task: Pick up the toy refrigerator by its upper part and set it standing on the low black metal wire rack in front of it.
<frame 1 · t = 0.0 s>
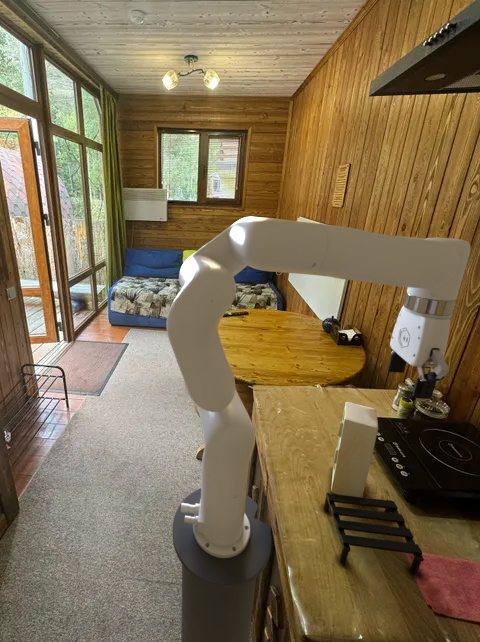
hand: (407, 383, 63), 31 cm above the kitchen counter, tool pointing down, fingers open, 9 cm apart
rack: (365, 538, 64), on the kitchen counter
toy refrigerator: (344, 485, 76), on the kitchen counter
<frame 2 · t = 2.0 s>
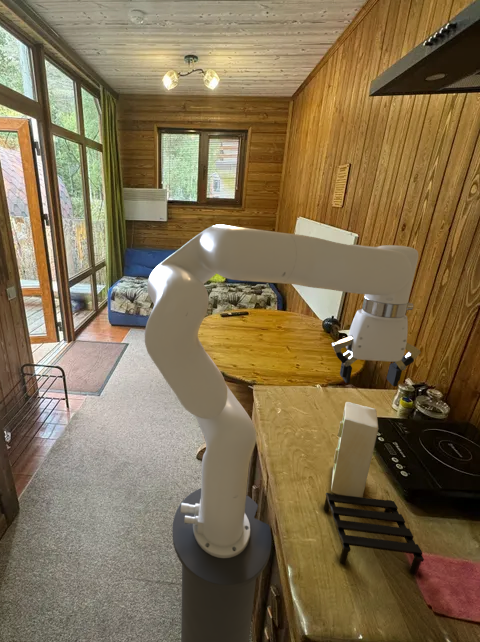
hand: (368, 381, 67), 29 cm above the kitchen counter, tool pointing down, fingers open, 9 cm apart
nothing on the kitchen counter moved.
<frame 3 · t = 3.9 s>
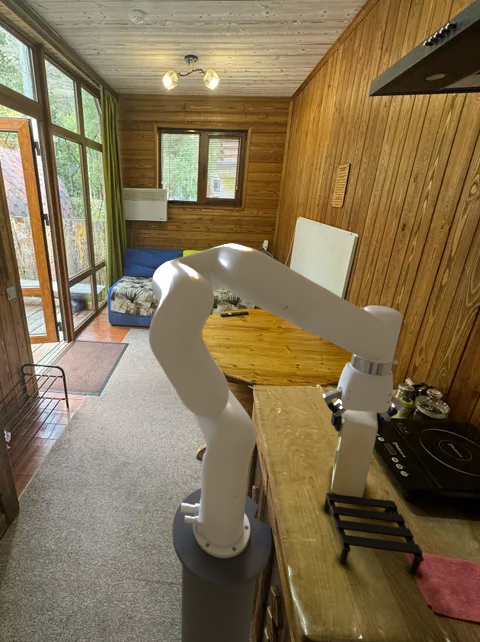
hand: (356, 429, 71), 17 cm above the kitchen counter, tool pointing down, fingers closed on toy refrigerator, 8 cm apart
toy refrigerator: (344, 485, 76), on the kitchen counter, touching gripper
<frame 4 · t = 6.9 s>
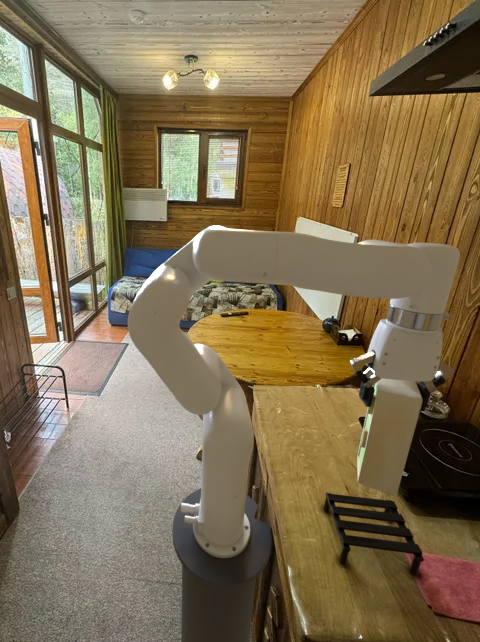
hand: (390, 404, 57), 31 cm above the kitchen counter, tool pointing down, fingers closed on toy refrigerator, 8 cm apart
toy refrigerator: (372, 475, 62), point 14 cm above the kitchen counter, touching gripper
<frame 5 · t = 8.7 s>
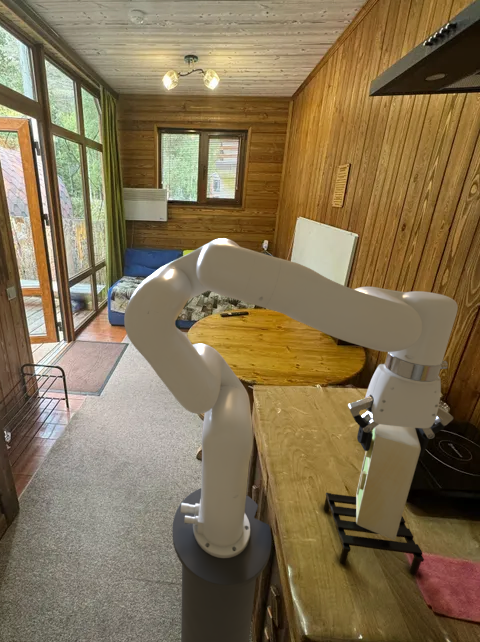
hand: (389, 447, 57), 23 cm above the kitchen counter, tool pointing down, fingers closed on toy refrigerator, 8 cm apart
toy refrigerator: (371, 515, 62), point 6 cm above the kitchen counter, touching gripper
when the fingers open (22 cm above the kitchen counter, at t = 9.9 s): toy refrigerator stays where it is, resting on rack.
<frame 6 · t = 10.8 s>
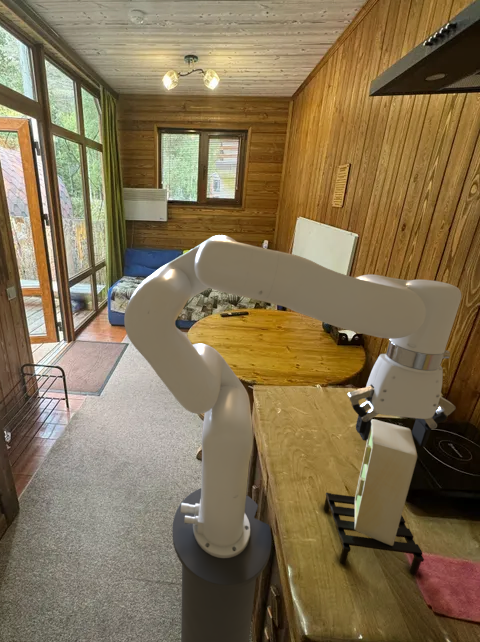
hand: (389, 438, 56), 25 cm above the kitchen counter, tool pointing down, fingers open, 9 cm apart
toy refrigerator: (369, 521, 63), point 5 cm above the kitchen counter, touching rack
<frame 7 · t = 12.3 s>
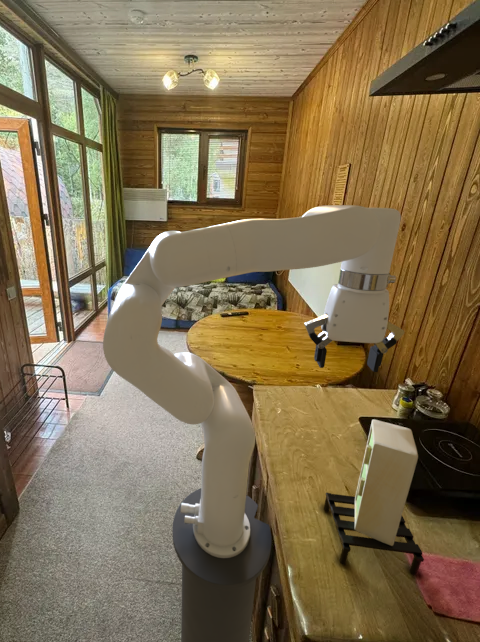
hand: (345, 366, 60), 36 cm above the kitchen counter, tool pointing down, fingers open, 9 cm apart
nothing on the kitchen counter moved.
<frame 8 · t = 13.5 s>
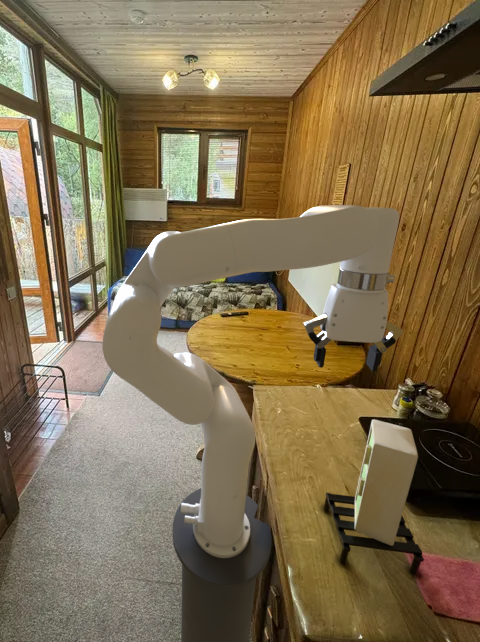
hand: (344, 366, 60), 36 cm above the kitchen counter, tool pointing down, fingers open, 9 cm apart
nothing on the kitchen counter moved.
at the end: toy refrigerator inside the target area on the rack (0.1 cm from its centre), point 4.8 cm above the rack's base; toy refrigerator tilted 0°; the gripper is holding nothing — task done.
